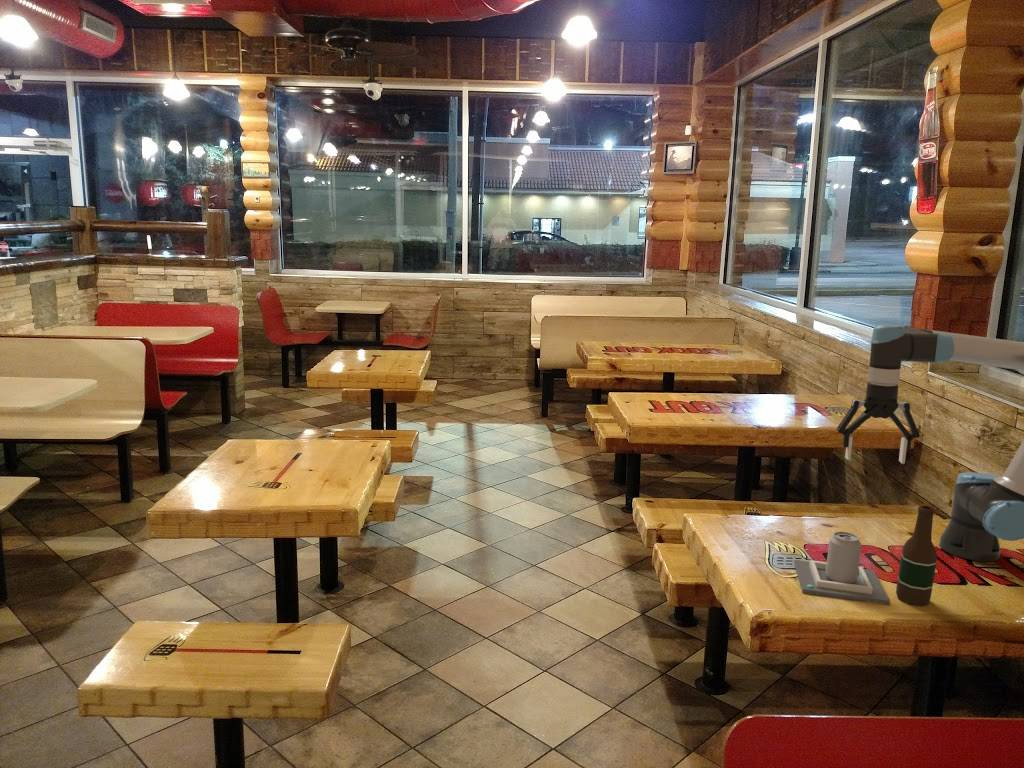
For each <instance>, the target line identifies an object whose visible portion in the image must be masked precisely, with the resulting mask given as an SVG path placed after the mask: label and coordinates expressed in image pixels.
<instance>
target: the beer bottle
mask: <svg viewBox="0 0 1024 768" xmlns="http://www.w3.org/2000/svg"><path fill="white" fill-rule="evenodd" d="M917 511H918V514H917V517H916V523H915V527H914V530H913V533H912V535H911V536H910V537H909V538H908V539H907V540H906V541H905V543H904V545H903V546H902V550H901V556H900V562H899V568H898V574H897V583H896V589H895V590H896V591H895V593H896V594H895V595H896V596H897V599H898V600H899V601H901V602H903V603H905V604H907V605H911V606H917V607H923V606H927V604H928V605H929V604H930V602H931V598H932V591H933V585H934V580H935V575H936V574H935V573H936V567H937V560H938V559H937V557H938V554H937V550H936V547H935V545H934V544H933V541H932V539H933V538H932V531H933V521H934V515H935V513H936V511H935V509H934V507H932V506H929V505H920V506H918V507H917Z"/></svg>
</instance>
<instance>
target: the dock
mask: <svg viewBox="0 0 1024 768" xmlns="http://www.w3.org/2000/svg"><path fill="white" fill-rule="evenodd" d="M794 564H795V566H794V568H796V569H795V573H796V575H797V576H796V577H797V579H798V582H799V586H800V589H801V593H802V594H810V595H817V596H823V597H824V596H825V597H830V596H831V597H830V598H837V597H838V599H839V598H840V599H846V600H852V601H861V602H866V601H870V602H869V603H874V602H877V603H876V604H881V603H883V605H888V604H889V605H890V602H891V600H890V598H889V597H888V595H887V593H886V590H885V589H884V587H883V585H882V584H881V581H880V579H879V577H878V576H877V574H876V572H875V570H874V569H866V568H863V566H859V567H858V574H857V580H856V581H855V582H853V583H851V584H847V583H840V582H833V581H831V580H830V579H829V578H828V577H827V576H826V574H825V571H826V564H827V561H826V562H825V561H818V560H812V559H811V560H809V561H805V560H799V559H798V560H797V559H794V560H793V565H794Z"/></svg>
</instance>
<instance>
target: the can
mask: <svg viewBox="0 0 1024 768" xmlns="http://www.w3.org/2000/svg"><path fill="white" fill-rule="evenodd" d="M860 539H861V538H860V537H859V536H858V534H855V533H851V532H849V531H842V530H841V531H834V532H833V533H832V536H831V537H830V538H829V541H828V549H827V556H826V558H827V559H826V562H827V564H826V571H825V574H826V576H827V577H828V578H829V579H830V580H831V581H833V582H840V583H847V584H851V583H853V582H855V581H856V580H857V574H858V567H860V559H861V553H862V552H861V551H862V545H863V544H862V542H861V541H860Z"/></svg>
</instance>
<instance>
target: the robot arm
mask: <svg viewBox="0 0 1024 768" xmlns="http://www.w3.org/2000/svg"><path fill="white" fill-rule="evenodd" d="M869 354H870V355H869V366H868V375H867V381H869V382H868V383H866V391H865V399H864V400H859V399H857V398H853V399H852V402H851V405H850V407H849V409H848V410H847V412H846V414H845V415H844V416H843V418H842V420H841V421H840V423H839V425H838V426H837V428H836V431H837V432H838V433H839V434H841V435H842V436H843V437H842V447H843V448H845V455H844V458H845V459H846V460H847V461H851V459H852V457H851V456H852V449H853V438H854V437H853V436H852V435H853V433H854V432H855V431H856V430H858V429H859V428H860V426H862V425H863V424H864V423H865V422H866V421H867V420H869V419H870V418H871V417H872V418H874V419H878V418H881V419H885V420H886V419H888V418H890V419H891V421H892V422H893V423H894V424H895V426H896V427H897V428H898V430H899V431H900V432H901V434H902V435H903V436H904V437H901V439H900V445H899V455H898V456H899V457H898V462H900V464H902V465H904V464H905V463H906V457H907V455H906V454H907V452H910V451H911V447H912V446H911V445H912V441H913V440H914V439H915V438H917V439H919V438H920V436H921V435H920V432H919V430H918V427H917V426H916V422H915V420H914V418H913V416H912V413H911V405H910V403H909V402H907V401H905V400H904V401H901V402H898V395H899V385H898V384H899V383H900V376H901V368H902V362H905V363H906V362H913V363H934V364H937V363H938V364H939V363H947V362H949V361H950V362H959V363H968V364H973V365H980V366H982V365H983V366H988V367H989V366H990V367H994V368H995V367H996V368H1003V369H1008V370H1009V369H1011V370H1015V371H1016V370H1017V371H1018V373H1020V374H1021V375H1024V341H1016V340H1010V339H1009V340H1008V339H1000V338H995V337H994V338H993V337H986V336H977V335H970V334H963V333H955V332H949V331H942V330H941V331H940V330H933V329H924V328H916V327H912V326H910V325H909V326H908V325H901V324H893V323H880V324H876V325H875V326H874V327H873V330H872V336H871V340H870V353H869ZM862 406H863V407H864V409H865V410H863V411H862V412H861V413H860V415H859V416H858V417H857V418H856V419H854V421H852V420H853V418H854V417H855V415H856V414H857V412H858V411H859V409H861V408H862ZM897 409H899V410H901V411H902V413H903V415H904V418H905V420H906V422H907V423H906V424H907V425H908V427H909V429H910V432H909V430H908V429H907V428H906V427H905V426H904V424H903V423H902V422H901V420H900V419H899V418H898V416H897V415H896V414H895V412H896V410H897ZM851 421H852V422H851ZM850 422H851V423H850ZM951 508H952V509H951V515H950V520H949V521H948V523H947V525H946V527H945V529H944V530H943V532H942V534H941V535H940V539H939V547H940V548H941V549H942V550H943V551H945V552H946V553H948V554H951V555H953V556H956V557H957V558H958V557H959V558H962V559H965V560H966V559H967V560H971V561H976V562H977V561H978V562H995V561H998V560H999V559H1000V557H1001V545H1000V540H1003V541H1007V542H1017V541H1019V540H1023V539H1024V439H1022V442H1021V443H1020V445H1019V447H1018V449H1017V450H1016V452H1015V454H1014V456H1013V458H1012V459H1011V461H1010V463H1008V466H1007V468H1006V470H1005V472H1004V473H1003V475H1001V476H999V475H995V474H989V473H985V472H984V473H982V472H972V471H966V472H961V473H959V474H958V476H957V478H956V482H955V488H954V495H953V502H952V507H951ZM999 539H1000V540H999Z"/></svg>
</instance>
